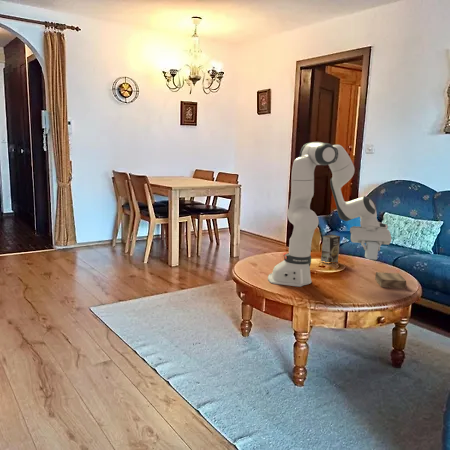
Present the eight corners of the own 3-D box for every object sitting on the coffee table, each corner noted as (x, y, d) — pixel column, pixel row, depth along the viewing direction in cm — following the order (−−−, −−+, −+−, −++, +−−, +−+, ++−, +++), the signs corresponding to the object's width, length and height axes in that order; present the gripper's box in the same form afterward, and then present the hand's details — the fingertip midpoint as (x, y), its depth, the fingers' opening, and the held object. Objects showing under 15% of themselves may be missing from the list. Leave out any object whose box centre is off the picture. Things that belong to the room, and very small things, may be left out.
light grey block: (366, 259, 220) (368, 243, 218) (364, 256, 225) (366, 241, 223) (376, 259, 219) (378, 244, 218) (374, 256, 224) (376, 242, 223)
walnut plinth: (381, 287, 219) (381, 279, 218) (375, 279, 230) (375, 272, 230) (405, 288, 218) (406, 281, 217) (398, 280, 229) (399, 273, 229)
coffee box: (329, 264, 254) (331, 238, 251) (320, 262, 259) (322, 235, 255) (338, 262, 260) (340, 236, 256) (329, 259, 265) (331, 234, 261)
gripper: (350, 222, 226) (352, 245, 219) (390, 225, 225) (393, 248, 217) (348, 229, 231) (350, 251, 224) (387, 231, 230) (390, 254, 222)
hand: (372, 249), depth 221 cm, fingers closed on light grey block, 5 cm apart
